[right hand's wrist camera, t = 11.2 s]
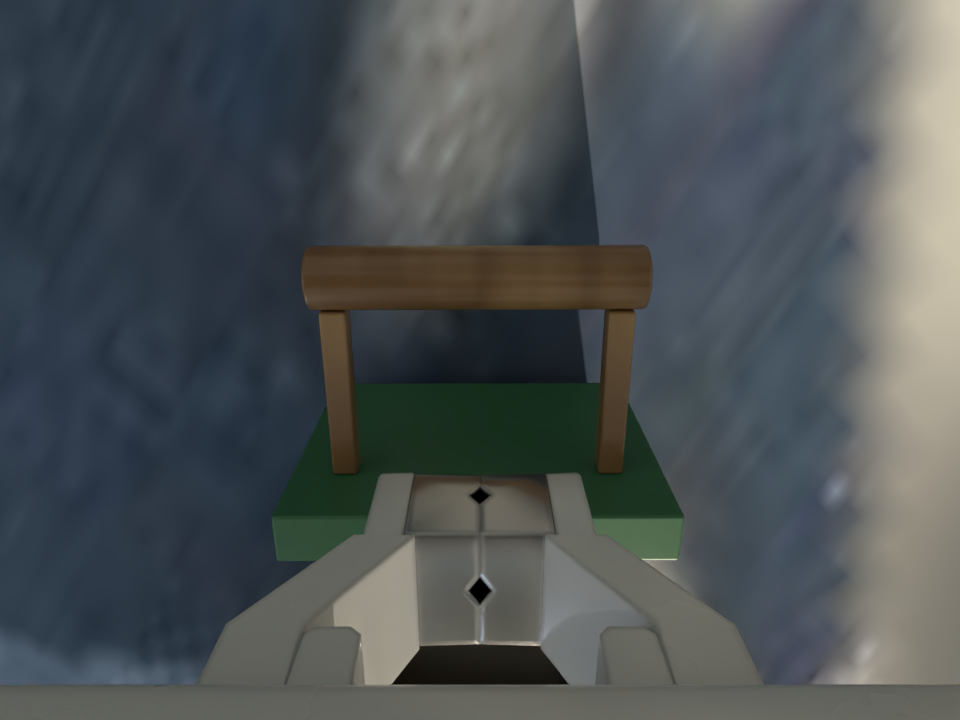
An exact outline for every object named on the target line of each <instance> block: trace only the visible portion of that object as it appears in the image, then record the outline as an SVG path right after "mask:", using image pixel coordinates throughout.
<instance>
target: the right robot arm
mask: <svg viewBox="0 0 960 720" xmlns="http://www.w3.org/2000/svg"><path fill="white" fill-rule="evenodd" d="M471 644H487V645H524V646H541V650H542V651H543V652H544V653H545V655H546V656H547V657H548V659H549V660H550V661H551V662H552V664H553V665H554V666H555V667H556V669H557V670H558V671H559V672H560V674H561V675H562V676H563V677H564V679H565V680H566V681H567V682H568V684H569V685H391V684H392V683H393V682H394V680H395V679H396V678H397V677H398V675H399V674H400V673H401V672H402V670H403V669H404V668H405V667H406V665H407V664H408V663H409V662H410V660H411V659H412V658H413V657H414V655H415V654H416V653H417V652H418V650H419V646H435V645H471ZM0 720H960V685H764V684H763V682H762V680H761V678H760V676H759V674H758V672H757V670H756V667H755V665H754V663H753V661H752V659H751V657H750V655H749V653H748V651H747V649H746V647H745V645H744V643H743V641H742V638H741V636H740V634H739V632H738V630H737V628H736V626H735V624H733V623H732V622H730V621H729V620H727V619H726V618H725V617H723V616H722V615H720V614H719V613H717V612H716V611H715V610H713V609H712V608H710V607H709V606H707V605H706V604H705V603H703V602H702V601H700V600H699V599H697V598H696V597H695V596H693V595H692V594H690V593H689V592H687V591H686V590H685V589H683V588H682V587H680V586H679V585H677V584H676V583H675V582H673V581H672V580H670V579H669V578H667V577H666V576H665V575H663V574H662V573H660V572H659V571H657V570H656V569H655V568H653V567H652V566H650V565H649V564H647V563H646V562H645V561H643V560H642V559H640V558H639V557H637V556H636V555H635V554H633V553H632V552H630V551H629V550H627V549H626V548H625V547H623V546H622V545H620V544H619V543H618V542H616V541H615V540H613V539H612V538H610V537H609V536H608V535H598V534H596V530H595V527H594V523H593V519H592V516H591V512H590V508H589V505H588V501H587V497H586V494H585V490H584V486H583V483H582V479H581V475H580V474H578V473H553V474H507V475H478V474H426V473H416V474H415V475H414V473H382V474H381V475H380V476H379V478H378V482H377V485H376V489H375V493H374V497H373V500H372V504H371V508H370V511H369V515H368V519H367V523H366V526H365V530H364V534H362V535H353V536H351V537H350V538H348V539H347V540H345V541H344V542H342V543H341V544H340V545H338V546H337V547H335V548H334V549H332V550H331V551H330V552H328V553H327V554H325V555H324V556H322V557H321V558H320V559H318V560H317V561H315V562H314V563H312V564H311V565H310V566H308V567H307V568H305V569H304V570H302V571H301V572H299V573H298V574H297V575H295V576H294V577H292V578H291V579H289V580H288V581H287V582H285V583H284V584H282V585H281V586H279V587H278V588H277V589H275V590H274V591H272V592H271V593H269V594H268V595H266V596H265V597H264V598H262V599H261V600H259V601H258V602H256V603H255V604H254V605H252V606H251V607H249V608H248V609H246V610H245V611H244V612H242V613H241V614H239V615H238V616H236V617H235V618H234V619H232V620H231V621H229V622H228V623H226V625H225V627H224V629H223V631H222V633H221V635H220V637H219V639H218V641H217V643H216V645H215V647H214V649H213V651H212V653H211V655H210V657H209V659H208V662H207V664H206V666H205V668H204V670H203V672H202V674H201V676H200V678H199V680H198V682H197V684H196V685H0Z"/></svg>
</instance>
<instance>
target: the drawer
mask: <svg viewBox="0 0 960 720" xmlns="http://www.w3.org/2000/svg"><path fill="white" fill-rule="evenodd" d="M652 278H653V270H652V259H651V255H650V251H649V249H648V247H647V246H644V245H471V246H309V247H307V248H306V249H305V251H304V254H303V258H302V265H301V284H302V292H303V297H304V300H305V303H306V305H307V307H308V308H309V309H311V310H321V311H320V312H319V315H318V316H319V327H320V337H321V348H322V359H323V369H324V380H325V391H326V402H327V406H326V408H325V410H324V412H323V414H322V416H321V418H320V420H319V422H318V424H317V426H316V428H315V430H314V432H313V434H312V436H311V438H310V440H309V442H308V444H307V446H306V448H305V450H304V452H303V454H302V456H301V458H300V460H299V462H298V464H297V466H296V468H295V470H294V472H293V474H292V476H291V478H290V480H289V482H288V484H287V486H286V488H285V490H284V492H283V494H282V496H281V498H280V500H279V502H278V505H277V507H276V509H275V511H274V513H273V515H272V517H271V521H272V529H273V536H274V543H275V551H276V558H277V560H278V561H317V560H318V559H320V558H321V557H322V556H324V555H325V554H327V553H328V552H330V551H331V550H332V549H334V548H335V547H337V546H338V545H340V544H341V543H342V542H344V541H345V540H347V539H348V538H350V537H351V536H353V535H362V534H364V530H365V526H366V523H367V519H368V515H369V511H370V508H371V504H372V500H373V497H374V493H375V489H376V485H377V482H378V478H379V476H380V475H381V474H382V473H414V475H415V474H416V473H426V474H478V475H507V474H553V473H578V474H580V475H581V479H582V483H583V486H584V490H585V494H586V497H587V501H588V505H589V508H590V512H591V516H592V519H593V523H594V527H595V530H596V534H598V535H608V536H609V537H610V538H612V539H613V540H615V541H616V542H618V543H619V544H620V545H622V546H623V547H625V548H626V549H627V550H629V551H630V552H632V553H633V554H635V555H636V556H637V557H639V558H640V559H642V560H677V559H678V558H679V554H680V546H681V538H682V530H683V522H684V515H683V513H682V511H681V509H680V507H679V505H678V503H677V501H676V499H675V497H674V495H673V493H672V491H671V489H670V487H669V484H668V482H667V480H666V478H665V476H664V474H663V472H662V470H661V468H660V466H659V464H658V462H657V460H656V458H655V456H654V454H653V452H652V450H651V448H650V446H649V443H648V441H647V439H646V437H645V435H644V433H643V431H642V429H641V427H640V425H639V423H638V421H637V419H636V417H635V415H634V413H633V411H632V409H631V407H630V405H629V403H628V399H629V387H630V376H631V364H632V352H633V340H634V328H635V316H636V314H635V311H634V310H633V309H643V308H645V307H646V306H647V304H648V302H649V299H650V295H651V290H652ZM552 309H605V315H604V330H603V345H602V360H601V375H600V383H407V384H355V378H354V365H353V352H352V338H351V325H350V312H349V310H552ZM391 685H569V684H568V682H567V681H566V680H565V679H564V677H563V676H562V675H561V674H560V672H559V671H558V670H557V669H556V667H555V666H554V665H553V664H552V662H551V661H550V660H549V659H548V657H547V656H546V655H545V653H544V652H543V651H542V650H541V646H524V645H487V644H471V645H435V646H419V650H418V652H417V653H416V654H415V655H414V657H413V658H412V659H411V660H410V662H409V663H408V664H407V665H406V667H405V668H404V669H403V670H402V672H401V673H400V674H399V675H398V677H397V678H396V679H395V680H394V682H393V683H392V684H391Z"/></svg>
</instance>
